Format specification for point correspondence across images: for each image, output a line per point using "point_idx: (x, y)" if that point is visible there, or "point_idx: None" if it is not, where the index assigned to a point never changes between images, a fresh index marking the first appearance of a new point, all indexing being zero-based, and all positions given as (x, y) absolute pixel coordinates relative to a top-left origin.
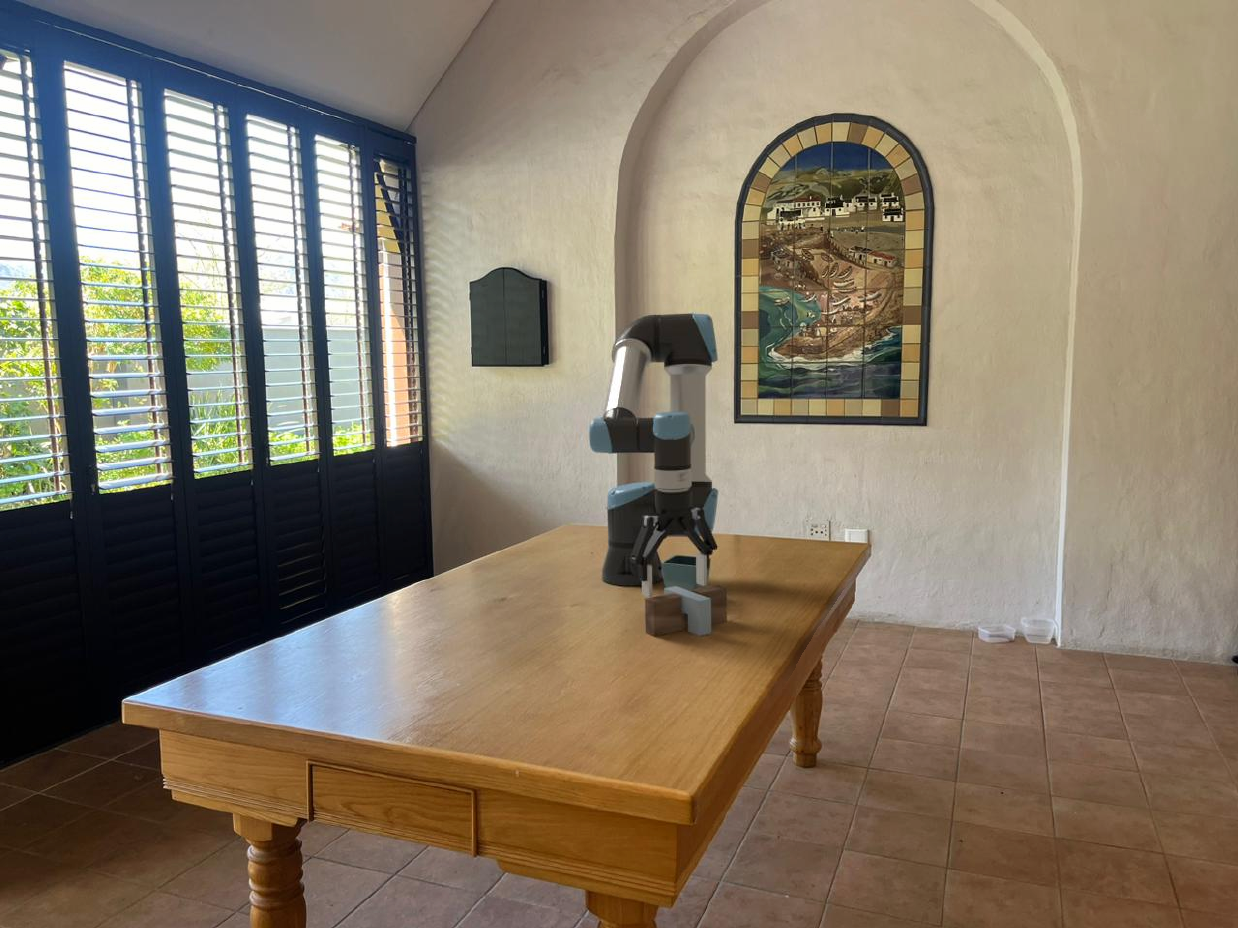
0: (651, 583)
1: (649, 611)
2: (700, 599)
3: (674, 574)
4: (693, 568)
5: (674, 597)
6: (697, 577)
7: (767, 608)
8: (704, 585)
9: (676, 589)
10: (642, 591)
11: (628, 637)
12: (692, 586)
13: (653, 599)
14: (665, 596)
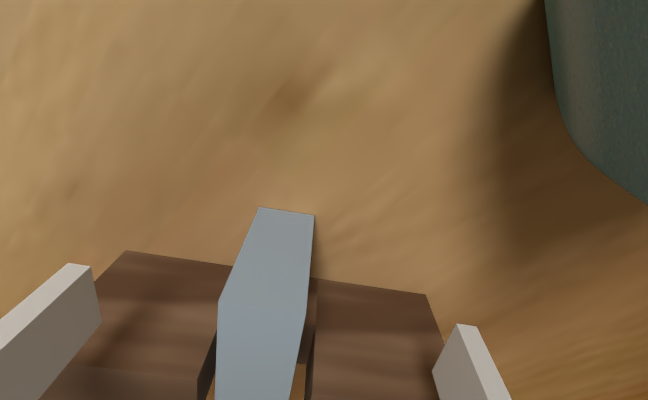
0: (33, 397)
1: None
2: None
3: (640, 25)
4: None
5: None
6: (466, 363)
7: (609, 330)
8: (434, 374)
9: (257, 352)
10: (55, 277)
11: (49, 246)
12: (589, 146)
13: (54, 386)
14: (133, 388)
